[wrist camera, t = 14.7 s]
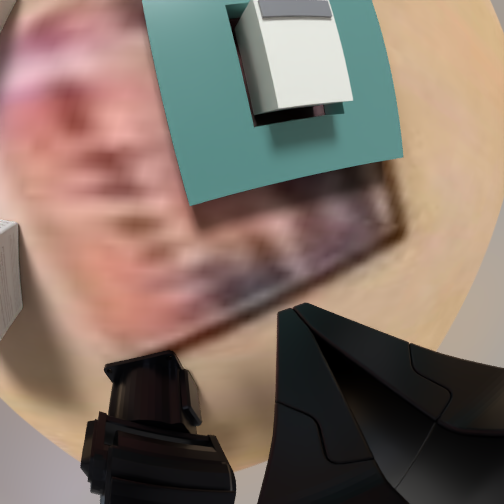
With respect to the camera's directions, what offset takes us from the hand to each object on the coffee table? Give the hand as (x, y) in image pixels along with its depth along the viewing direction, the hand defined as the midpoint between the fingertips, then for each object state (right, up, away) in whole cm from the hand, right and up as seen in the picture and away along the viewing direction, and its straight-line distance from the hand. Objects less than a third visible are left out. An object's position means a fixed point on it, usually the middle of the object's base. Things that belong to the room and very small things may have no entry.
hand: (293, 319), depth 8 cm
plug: (0, +13, +8) cm, 15 cm away
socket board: (0, +13, +7) cm, 15 cm away
